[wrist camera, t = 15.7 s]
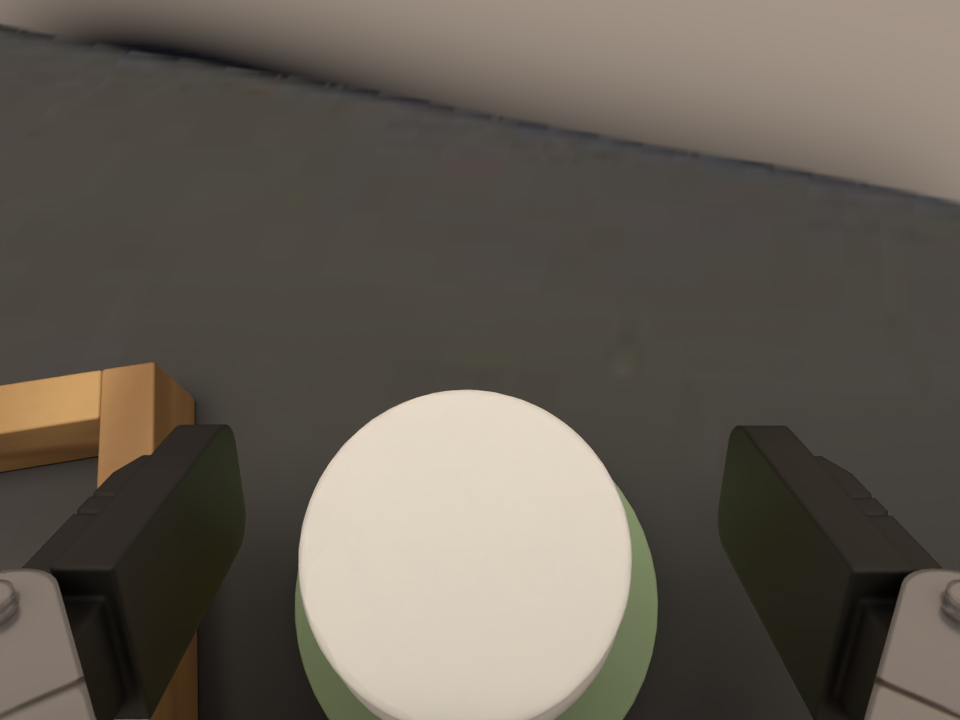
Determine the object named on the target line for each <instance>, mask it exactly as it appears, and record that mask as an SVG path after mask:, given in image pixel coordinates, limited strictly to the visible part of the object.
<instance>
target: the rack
mask: <svg viewBox="0 0 960 720" xmlns="http://www.w3.org/2000/svg"><path fill="white" fill-rule="evenodd" d="M178 425H195V404H194V398H193V397H192V396H191V395H190V394H189V393H188V392H187V391H185V390H184V389H183V388H182V387H181V386H180V385H179V384H178V383H177V382H175V381H174V380H173V379H172V378H171V377H170V376H169V375H168V374H167V373H166V372H164V371H163V370H162V369H161V368H160V367H159V366H158V365H157V364H156V363H153V362H150V363H144V364H137V365H131V366H124V367H118V368H111V369H105V370H103V372H102V371H93V372H86V373H80V374H73V375H67V376H60V377H54V378H48V379H41V380H35V381H28V382H22V383H15V384H9V385H2V386H0V472H3V471H10V470H16V469H22V468H28V467H34V466H40V465H46V464H52V463H59V462H65V461H71V460H77V459H83V458H89V457H95V456H98V478H97V489H98V488H99V487H100V486H101V484H102V483H103V482H104V481H105V480H106V479H107V478H108V477H109V476H110V475H111V474H112V473H113V472H115V471H116V470H118V469H120V468H121V467H123V466H125V465H127V464H128V463H130V462H132V461H133V460H135V459H137V458H139V457H140V456H142V455H151V454H152V453H153V452H154V450H155V449H156V448H157V447H158V446H159V445H160V444H161V443H162V442H163V440H164V439H165V438H166V437H167V436H168V435H169V434H170V433H171V431H172V430H173V429H174V428H175V427H176V426H178ZM114 720H198V677H197V631H196V633H195V635H194V637H193V639H192V641H191V642H190V644H189V646H188V648H187V650H186V652H185V654H184V656H183V658H182V660H181V662H180V664H179V665H178V667H177V669H176V671H175V673H174V675H173V677H172V679H171V681H170V683H169V685H168V687H167V688H166V690H165V692H164V694H163V696H162V698H161V700H160V702H159V704H158V706H157V708H156V710H155V711H154V713H153V715H152V717H151V719H114Z"/></svg>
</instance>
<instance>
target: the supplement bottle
mask: <svg viewBox="0 0 960 720" xmlns="http://www.w3.org/2000/svg"><path fill="white" fill-rule="evenodd" d="M298 566H299V583H300V592H301V597H302V602H303V606H304V610H305V613H306V616H307V619H308V622H309V625H310V628H311V630H312V632H313V635H314V637H315V639H316V641H317V643H318V645H319V647H320V649H321V651H322V653H323V654H324V656H325V657H326V659H327V660H328V662H329V663H330V665H331V666H332V668H333V669H334V670H335V672H336V673H337V674H338V675H339V676H340V678H341V679H342V680H343V682H344V683H345V684H346V686H347V687H348V688H349V690H350V691H351V692H352V693H353V694H354V695H355V697H356V698H357V699H358V700H359V701H360V702H361V703H362V704H363V705H364V706H365V707H366V708H368V709H369V710H370V711H371V712H372V713H373V714H375V715H376V716H377V717H379V718H380V719H382V720H554V719H556V718H557V717H558V716H560V715H561V714H562V713H564V712H565V711H566V710H567V709H568V708H569V707H571V706H572V705H573V704H574V703H575V702H576V701H577V700H578V699H579V698H580V697H581V696H582V694H583V693H584V692H585V691H586V689H587V688H588V687H589V686H590V684H591V683H592V682H593V680H594V679H595V678H596V676H597V675H598V673H599V672H600V670H601V668H602V667H603V665H604V663H605V661H606V659H607V657H608V655H609V653H610V651H611V649H612V647H613V644H614V641H615V638H616V635H617V632H618V629H619V627H620V624H621V622H622V619H623V617H624V613H625V610H626V606H627V601H628V596H629V591H630V586H631V571H632V544H631V536H630V530H629V525H628V521H627V517H626V512H625V509H624V506H623V504H622V501H621V498H620V496H619V493H618V491H617V489H616V486H615V484H614V482H613V481H612V479H611V477H610V475H609V473H608V472H607V470H606V468H605V466H604V465H603V463H602V462H601V461H600V459H599V458H598V457H597V455H596V454H595V453H594V451H593V450H592V449H591V448H590V447H589V445H588V444H587V443H586V442H585V441H584V440H583V439H582V438H581V437H580V436H579V435H578V434H577V433H576V432H575V431H574V430H573V429H571V428H570V427H569V426H568V425H566V424H565V423H564V422H562V421H561V420H559V419H558V418H556V417H555V416H553V415H552V414H550V413H549V412H547V411H545V410H543V409H541V408H539V407H537V406H535V405H533V404H531V403H528V402H526V401H523V400H521V399H518V398H514V397H511V396H507V395H503V394H499V393H495V392H488V391H479V390H454V391H444V392H438V393H432V394H429V395H425V396H422V397H418V398H415V399H412V400H409V401H406V402H404V403H402V404H399V405H397V406H395V407H393V408H391V409H389V410H387V411H386V412H384V413H382V414H381V415H379V416H377V417H376V418H374V419H372V420H371V421H370V422H369V423H367V424H366V425H365V426H364V427H362V428H361V429H360V430H359V431H358V432H357V433H356V434H355V435H354V436H352V437H351V438H350V439H349V440H348V441H347V442H346V443H345V444H344V445H343V446H342V448H341V449H340V450H339V451H338V453H337V454H336V455H335V457H334V458H333V459H332V460H331V462H330V463H329V465H328V466H327V468H326V470H325V471H324V473H323V474H322V476H321V477H320V479H319V481H318V483H317V485H316V488H315V490H314V492H313V494H312V497H311V499H310V502H309V505H308V508H307V511H306V514H305V517H304V521H303V525H302V531H301V537H300V544H299V562H298Z"/></svg>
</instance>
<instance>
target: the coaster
mask: <svg viewBox="0 0 960 720" xmlns="http://www.w3.org/2000/svg"><path fill="white" fill-rule="evenodd" d="M612 481H613V480H612ZM613 482H614V481H613ZM614 484H615V483H614ZM615 486H616V489H617V491H618V493H619V496H620V498H621V501H622V504H623V506H624V509H625V512H626V517H627V521H628V525H629V530H630V536H631V544H632V571H631V586H630V591H629V596H628V601H627V606H626V610H625V613H624V617H623V619H622V622H621V624H620V627H619V629H618V632H617V635H616V638H615V641H614V644H613V647H612V649H611V651H610V653H609V655H608V657H607V659H606V661H605V663H604V665H603V667H602V668H601V670H600V672H599V673H598V675H597V676H596V678H595V679H594V680H593V682H592V683H591V684H590V686H589V687H588V688H587V689H586V691H585V692H584V693H583V694H582V696H581V697H580V698H579V699H578V700H577V701H576V702H575V703H574V704H573V705H572V706H571V707H569V708H568V709H567V710H566V711H565V712H564V713H562V714H561V715H560V716H558V717H557V718H556V719H554V720H623V719H624V717H625V716H626V714H627V712H628V711H629V709H630V708H631V706H632V705H633V703H634V701H635V699H636V697H637V695H638V692H639V690H640V688H641V686H642V684H643V682H644V679H645V676H646V673H647V670H648V667H649V664H650V660H651V657H652V654H653V648H654V642H655V637H656V631H657V616H658V596H657V583H656V576H655V571H654V566H653V561H652V556H651V552H650V549H649V546H648V543H647V540H646V537H645V534H644V531H643V529H642V527H641V525H640V523H639V521H638V519H637V517H636V515H635V512H634V510H633V509H632V507H631V506H630V504H629V502H628V501H627V499H626V498H625V496H624V495H623V493H622V491H621V490H620V489H619V488H618V486H617V485H616V484H615ZM295 625H296V633H297V641H298V647H299V651H300V655H301V659H302V662H303V666H304V670H305V673H306V675H307V678H308V680H309V683H310V685H311V688H312V690H313V692H314V695H315V697H316V698H317V700H318V702H319V704H320V705H321V707H322V709H323V711H324V712H325V714H326V716H327V718H328V719H329V720H382V719H380V718H379V717H377V716H376V715H375V714H373V713H372V712H371V711H370V710H369V709H368V708H366V707H365V706H364V705H363V704H362V703H361V702H360V701H359V700H358V699H357V698H356V697H355V695H354V694H353V693H352V692H351V691H350V690H349V688H348V687H347V686H346V684H345V683H344V682H343V680H342V679H341V678H340V676H339V675H338V674H337V673H336V672H335V670H334V669H333V668H332V666H331V665H330V663H329V662H328V660H327V659H326V657H325V656H324V654H323V653H322V651H321V649H320V647H319V645H318V643H317V641H316V639H315V637H314V635H313V632H312V630H311V628H310V625H309V622H308V619H307V616H306V613H305V610H304V606H303V602H302V597H301V592H300V583H299V568H298V574H297V582H296V590H295Z"/></svg>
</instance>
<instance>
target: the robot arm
mask: <svg viewBox="0 0 960 720" xmlns="http://www.w3.org/2000/svg"><path fill="white" fill-rule="evenodd" d="M245 520H246V513H245V503H244V497H243V490H242V483H241V477H240V470H239V463H238V457H237V450H236V443H235V438H234V434H233V431H232V429H231V428H230V427H229V426H228V425H178V426H176V427H175V428H174V429H173V430H172V431H171V433H170V434H169V435H168V436H167V437H166V438H165V439H164V440H163V442H162V443H161V444H160V445H159V446H158V447H157V448H156V449H155V450H154V452H153V453H152V454H151V455H142V456H140V457H139V458H137V459H135V460H133V461H132V462H130V463H128V464H127V465H125V466H123V467H121V468H120V469H118V470H116V471H115V472H113V473H112V474H111V475H110V476H109V477H108V478H107V479H106V480H105V481H104V482H103V483H102V484H101V486H100V487H99V488H98V489H97V490H96V491H95V492H94V496H93V497H89V498H88V499H87V500H86V501H85V502H84V503H83V504H82V505H81V507H80V508H79V509H78V510H77V514H73V515H72V516H71V517H70V518H69V519H68V520H67V521H66V522H65V523H64V524H63V525H62V526H61V528H60V529H59V530H58V531H57V532H56V533H55V534H54V535H53V536H52V537H51V538H50V539H49V540H48V541H47V542H46V543H45V544H44V545H43V546H42V547H41V549H40V550H39V551H38V552H37V553H36V554H35V555H34V556H33V557H32V558H31V559H30V560H29V561H28V562H27V563H26V564H25V565H24V566H23V567H22V568H21V569H11V570H5V571H0V720H114V719H151V717H152V715H153V713H154V711H155V710H156V708H157V706H158V704H159V702H160V700H161V698H162V696H163V694H164V692H165V690H166V688H167V687H168V685H169V683H170V681H171V679H172V677H173V675H174V673H175V671H176V669H177V667H178V665H179V664H180V662H181V660H182V658H183V656H184V654H185V652H186V650H187V648H188V646H189V644H190V642H191V641H192V639H193V637H194V635H195V633H196V631H197V629H198V627H199V625H200V623H201V621H202V619H203V617H204V616H205V614H206V612H207V610H208V608H209V606H210V604H211V602H212V600H213V598H214V596H215V594H216V593H217V591H218V589H219V587H220V585H221V583H222V581H223V579H224V577H225V575H226V573H227V571H228V570H229V568H230V566H231V564H232V562H233V560H234V558H235V556H236V554H237V552H238V550H239V548H240V546H241V543H242V540H243V536H244V530H245ZM718 527H719V534H720V539H721V543H722V546H723V548H724V550H725V552H726V554H727V556H728V558H729V560H730V562H731V564H732V566H733V567H734V569H735V571H736V573H737V575H738V577H739V579H740V581H741V583H742V585H743V586H744V588H745V590H746V592H747V594H748V596H749V598H750V600H751V602H752V603H753V605H754V607H755V609H756V611H757V613H758V615H759V617H760V619H761V621H762V622H763V624H764V626H765V628H766V630H767V632H768V634H769V636H770V638H771V639H772V641H773V643H774V645H775V647H776V649H777V651H778V653H779V655H780V657H781V658H782V660H783V662H784V664H785V666H786V668H787V670H788V672H789V674H790V675H791V677H792V679H793V681H794V683H795V685H796V687H797V689H798V691H799V693H800V694H801V696H802V698H803V700H804V702H805V704H806V706H807V708H808V710H809V711H810V713H811V715H812V717H813V719H814V720H960V571H955V570H949V569H943V568H942V567H941V566H940V565H939V564H938V563H937V562H936V561H935V560H934V559H933V558H932V557H931V556H930V555H929V554H928V553H927V552H926V551H925V550H924V549H923V547H922V546H921V545H920V544H919V543H918V542H917V541H916V540H915V539H914V538H913V537H912V536H911V535H910V534H909V533H908V532H907V531H906V530H905V529H904V528H903V527H902V526H901V525H900V524H899V523H898V521H897V520H896V519H895V518H894V517H893V516H888V511H887V510H886V509H885V508H884V507H883V506H882V505H881V504H880V503H879V502H878V501H877V500H876V499H875V498H871V493H870V492H869V491H868V490H867V489H866V488H865V487H864V486H863V485H862V484H861V483H860V482H859V481H858V480H857V479H856V478H855V477H854V476H853V475H852V474H851V473H850V472H848V471H846V470H844V469H843V468H841V467H839V466H837V465H836V464H834V463H832V462H831V461H829V460H827V459H825V458H824V457H822V456H813V454H812V453H811V452H810V451H809V450H808V449H807V448H806V447H805V446H804V444H803V443H802V442H801V441H800V440H799V439H798V438H797V437H796V436H795V435H794V433H793V432H792V431H791V430H790V429H789V428H788V427H786V426H736V427H735V428H734V429H733V430H732V432H731V435H730V438H729V443H728V449H727V456H726V463H725V469H724V476H723V482H722V489H721V495H720V502H719V509H718Z"/></svg>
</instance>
